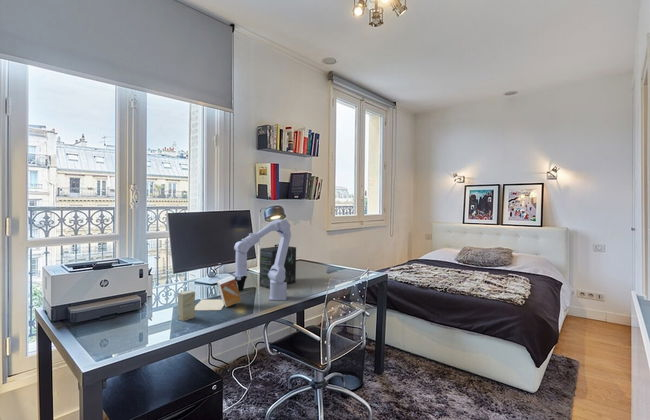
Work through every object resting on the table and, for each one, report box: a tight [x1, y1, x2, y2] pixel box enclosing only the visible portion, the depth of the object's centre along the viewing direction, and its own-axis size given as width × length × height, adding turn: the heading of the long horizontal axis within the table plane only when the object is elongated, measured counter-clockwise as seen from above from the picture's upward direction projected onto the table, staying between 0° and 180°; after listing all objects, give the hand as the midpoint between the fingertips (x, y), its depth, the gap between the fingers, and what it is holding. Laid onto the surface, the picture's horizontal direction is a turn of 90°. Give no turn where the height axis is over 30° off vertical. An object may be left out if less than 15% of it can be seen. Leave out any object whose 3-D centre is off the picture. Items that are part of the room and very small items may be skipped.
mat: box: [195, 298, 225, 312], centre depth 170 cm, size 14×17×1 cm
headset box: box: [259, 244, 297, 289], centre depth 213 cm, size 22×12×26 cm, turn 144°
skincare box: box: [177, 290, 196, 322], centre depth 151 cm, size 6×4×12 cm
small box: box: [216, 274, 242, 308], centre depth 170 cm, size 8×6×13 cm
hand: (240, 290), depth 171 cm, fingers closed
